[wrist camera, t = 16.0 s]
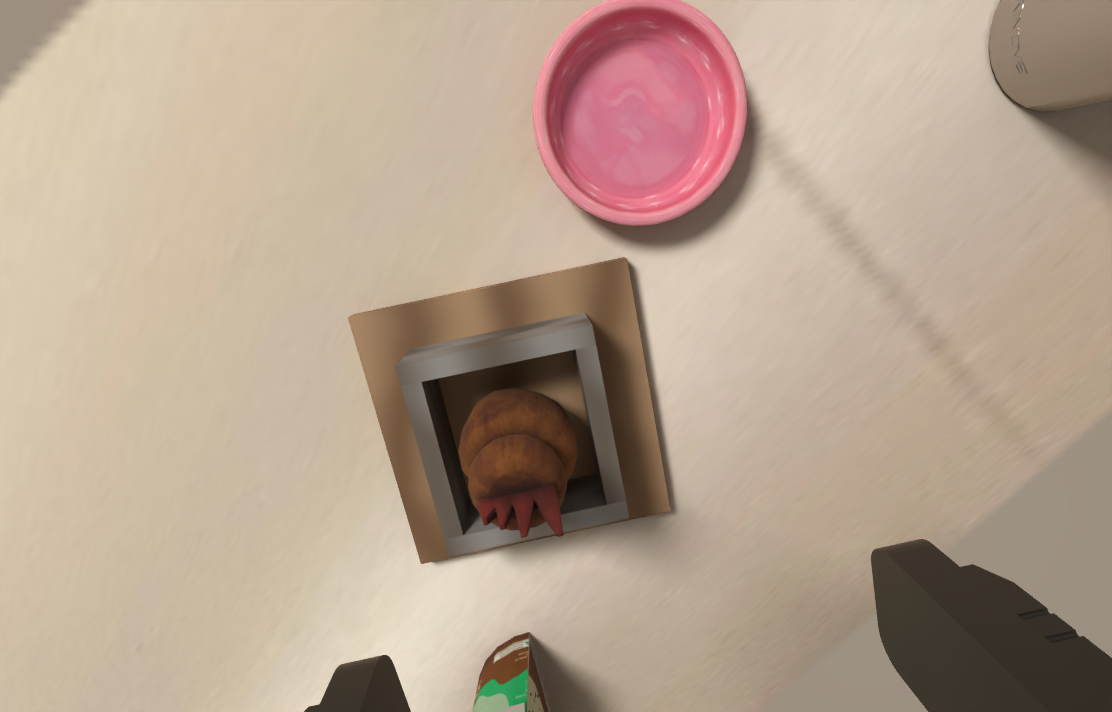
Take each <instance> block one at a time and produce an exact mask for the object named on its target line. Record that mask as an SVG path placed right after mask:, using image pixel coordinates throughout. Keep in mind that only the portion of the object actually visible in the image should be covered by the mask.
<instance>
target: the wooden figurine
mask: <svg viewBox="0 0 1112 712" xmlns="http://www.w3.org/2000/svg"><path fill="white" fill-rule="evenodd" d="M458 452H459V457H460V462H461V467H462V471H463V472H464V473H465V475H466V476H467V477H468V478H469V480H468V489H469V493H470V496H471V500H472V503H473V505H474V506H475V508H476V509H477V510H478V511H479V513H480V514H481V518H482V521H483V525H485V526H486V525H489V524H490V523H492V524H494V525H495V526H498V527H499V528H500V530H505V529H507V530H519V531H520V536H521V538H524V537H527V536H528V533H529V530H530V528H534V527H538V526H540V525H541V524H543V523H544V522H547V524H548V525H549V526H550V528H551V529H552V531H553V532H554V533H555V535H556V536H558V537H559V536H563V535H564V532H563V526H562V520H561V514H560V508H559V507H560V506H561V504H562V503H563V500H564V496H565V492H566V488H567V481H568V480H569V478H570V477H571V476H572V474H573V471H574V468H575V464H576V459H577V455H578V449H577V444H576V439H575V432H574V426H573V424H572V421H571V420H570V418H569V417H568V415H567V414H566V412H565V411H564V409H563V408H562V406H561V405H560V404H559V403H558V402H556V401H555V400H553V399H551V398H549V397H547V396H545V395H543V394H542V393H539V392H535V391H531V390H528V389H518V388H509V389H503V390H498V391H493V392H492V393H490V394H489V395H487V396H486V397H484V398H483V399H481V400H480V401H479V402H478V403H477V404H476V405H475V407H474V408H473V410H472V412H471V414H470V416H469V417H468V419H467V421H466V423H465V425H464V427H463V430H462V433H461V438H460V445H459V451H458Z"/></svg>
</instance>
